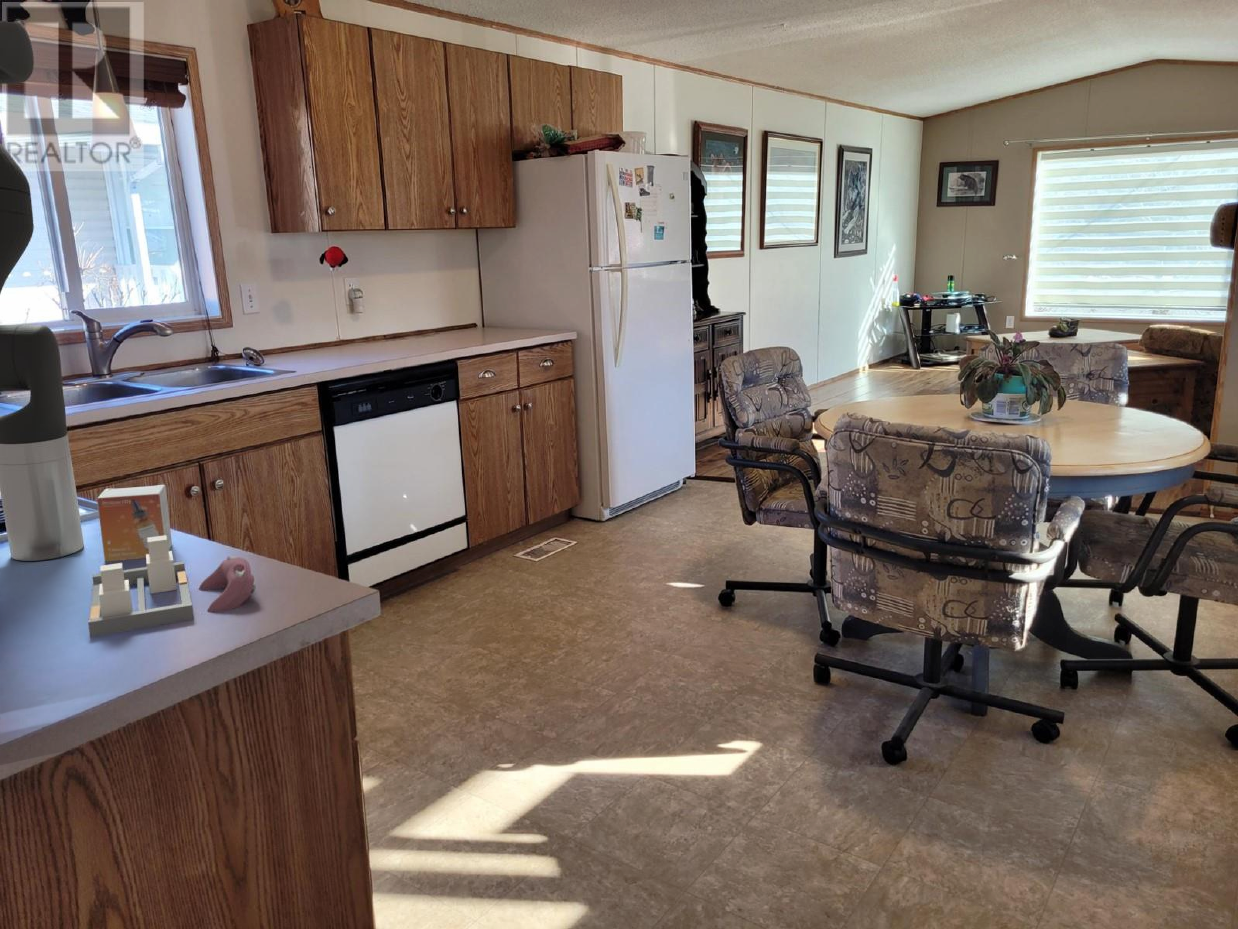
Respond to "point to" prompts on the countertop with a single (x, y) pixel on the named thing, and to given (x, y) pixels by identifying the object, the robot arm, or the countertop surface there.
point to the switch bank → (140, 605)
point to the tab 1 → (114, 591)
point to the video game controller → (230, 584)
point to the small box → (132, 520)
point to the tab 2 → (160, 565)
